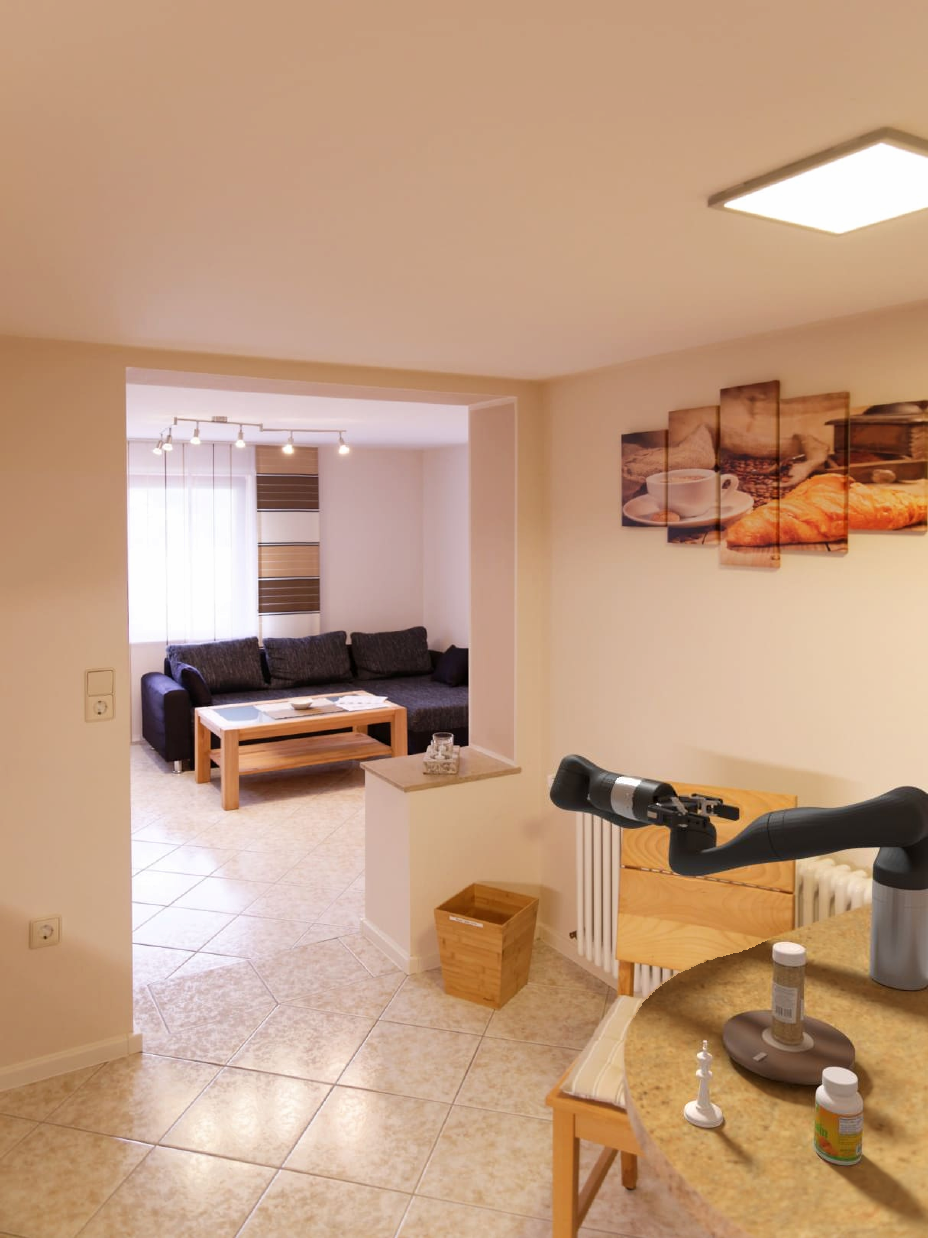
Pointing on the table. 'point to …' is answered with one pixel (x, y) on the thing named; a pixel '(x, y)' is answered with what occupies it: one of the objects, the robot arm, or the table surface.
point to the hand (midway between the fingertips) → (723, 819)
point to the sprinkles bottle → (788, 993)
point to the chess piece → (703, 1096)
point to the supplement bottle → (838, 1117)
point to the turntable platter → (786, 1048)
